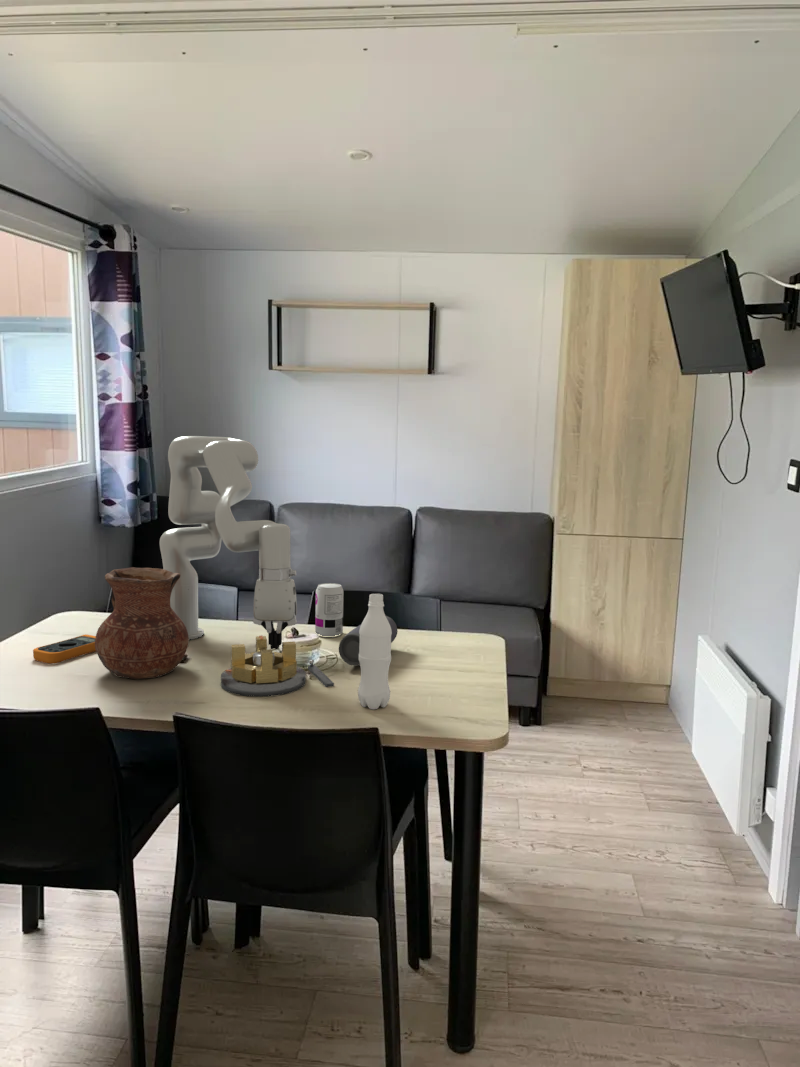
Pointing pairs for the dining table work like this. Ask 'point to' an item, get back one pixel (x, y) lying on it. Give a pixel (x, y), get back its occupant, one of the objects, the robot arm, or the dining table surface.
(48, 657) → the multimeter
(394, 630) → the bluetooth speaker
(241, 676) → the ring nut
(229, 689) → the housing
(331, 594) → the supplement can
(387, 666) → the water bottle
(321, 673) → the pin spanner
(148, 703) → the dining table surface
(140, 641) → the clay pot
